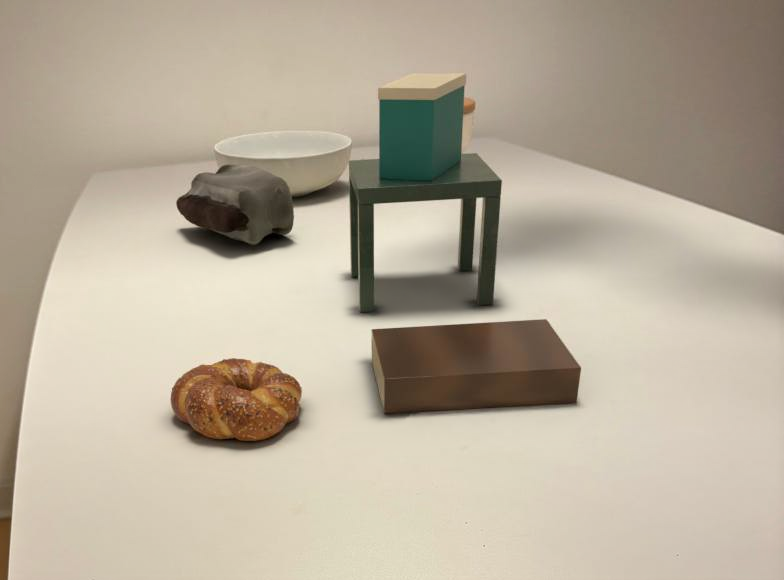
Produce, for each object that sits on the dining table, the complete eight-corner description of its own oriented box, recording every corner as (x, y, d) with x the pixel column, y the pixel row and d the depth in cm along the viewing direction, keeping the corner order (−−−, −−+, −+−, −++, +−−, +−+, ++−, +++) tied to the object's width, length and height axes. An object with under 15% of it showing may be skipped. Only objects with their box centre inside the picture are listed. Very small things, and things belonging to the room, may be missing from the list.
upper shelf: (470, 266, 110) (476, 152, 103) (493, 304, 99) (502, 180, 92) (350, 273, 110) (348, 160, 103) (359, 312, 99) (358, 188, 92)
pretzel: (322, 435, 75) (320, 391, 73) (188, 457, 73) (182, 412, 71) (285, 381, 85) (282, 341, 83) (165, 399, 83) (159, 358, 81)
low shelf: (543, 351, 88) (546, 318, 86) (576, 402, 78) (581, 367, 76) (371, 361, 88) (371, 329, 86) (384, 413, 78) (384, 379, 76)
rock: (166, 230, 130) (159, 167, 125) (238, 216, 135) (233, 155, 130) (227, 259, 117) (221, 191, 113) (304, 243, 122) (302, 177, 117)
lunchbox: (411, 158, 102) (412, 73, 97) (462, 160, 100) (466, 73, 95) (377, 179, 95) (377, 87, 90) (432, 181, 93) (435, 87, 88)
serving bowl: (224, 213, 137) (219, 160, 133) (213, 183, 153) (208, 136, 149) (364, 200, 139) (364, 148, 135) (339, 172, 155) (338, 126, 151)
